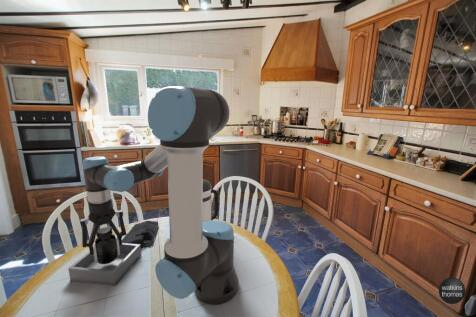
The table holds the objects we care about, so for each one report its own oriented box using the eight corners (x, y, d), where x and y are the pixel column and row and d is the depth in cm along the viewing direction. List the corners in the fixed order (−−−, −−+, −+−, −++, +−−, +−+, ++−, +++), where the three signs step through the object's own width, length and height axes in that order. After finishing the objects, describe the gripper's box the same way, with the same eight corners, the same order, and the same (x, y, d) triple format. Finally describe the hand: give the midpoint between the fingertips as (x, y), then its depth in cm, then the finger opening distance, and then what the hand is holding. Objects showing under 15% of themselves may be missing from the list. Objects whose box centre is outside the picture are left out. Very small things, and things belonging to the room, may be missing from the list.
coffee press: (214, 244, 105) (214, 180, 98) (179, 244, 105) (176, 180, 98) (218, 225, 122) (218, 169, 115) (188, 225, 122) (185, 169, 115)
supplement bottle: (119, 260, 88) (116, 231, 86) (99, 267, 84) (95, 237, 82) (115, 251, 94) (112, 223, 91) (95, 258, 89) (91, 229, 87)
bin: (141, 255, 97) (140, 244, 96) (115, 285, 80) (113, 273, 79) (103, 251, 99) (102, 241, 98) (70, 280, 83) (68, 268, 81)
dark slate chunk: (163, 225, 123) (163, 216, 122) (151, 250, 101) (150, 240, 100) (133, 225, 122) (132, 217, 121) (114, 251, 100) (113, 241, 99)
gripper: (127, 191, 93) (132, 243, 97) (65, 203, 81) (75, 261, 86) (132, 196, 87) (137, 252, 92) (66, 210, 75) (76, 273, 80)
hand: (107, 256), depth 89 cm, fingers closed on supplement bottle, 7 cm apart
